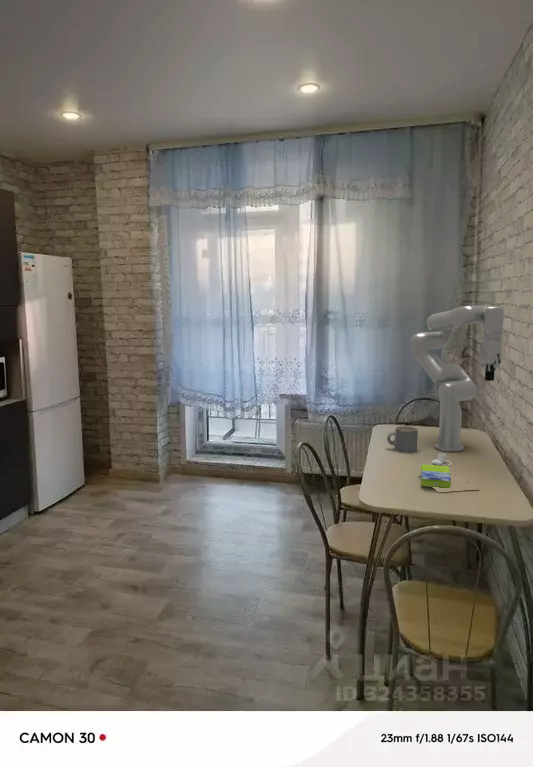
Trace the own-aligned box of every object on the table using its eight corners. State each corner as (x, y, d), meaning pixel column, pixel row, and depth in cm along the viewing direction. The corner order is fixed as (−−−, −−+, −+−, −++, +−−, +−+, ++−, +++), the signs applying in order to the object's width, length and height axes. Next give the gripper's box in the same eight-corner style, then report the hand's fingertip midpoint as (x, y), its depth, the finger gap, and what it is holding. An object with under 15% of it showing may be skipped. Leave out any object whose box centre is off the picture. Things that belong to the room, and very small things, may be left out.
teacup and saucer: (436, 467, 217) (437, 458, 216) (426, 461, 224) (426, 452, 224) (455, 465, 219) (455, 456, 218) (444, 459, 227) (444, 450, 226)
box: (420, 473, 208) (420, 488, 191) (421, 463, 207) (421, 477, 191) (448, 475, 205) (451, 491, 188) (449, 465, 204) (451, 480, 188)
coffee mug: (417, 447, 244) (418, 426, 242) (416, 453, 235) (417, 432, 233) (388, 445, 248) (389, 424, 247) (386, 450, 239) (386, 429, 237)
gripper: (474, 335, 221) (471, 378, 225) (493, 338, 207) (490, 383, 210) (490, 335, 222) (488, 377, 225) (511, 337, 208) (508, 383, 211)
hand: (489, 380), depth 218 cm, fingers closed
